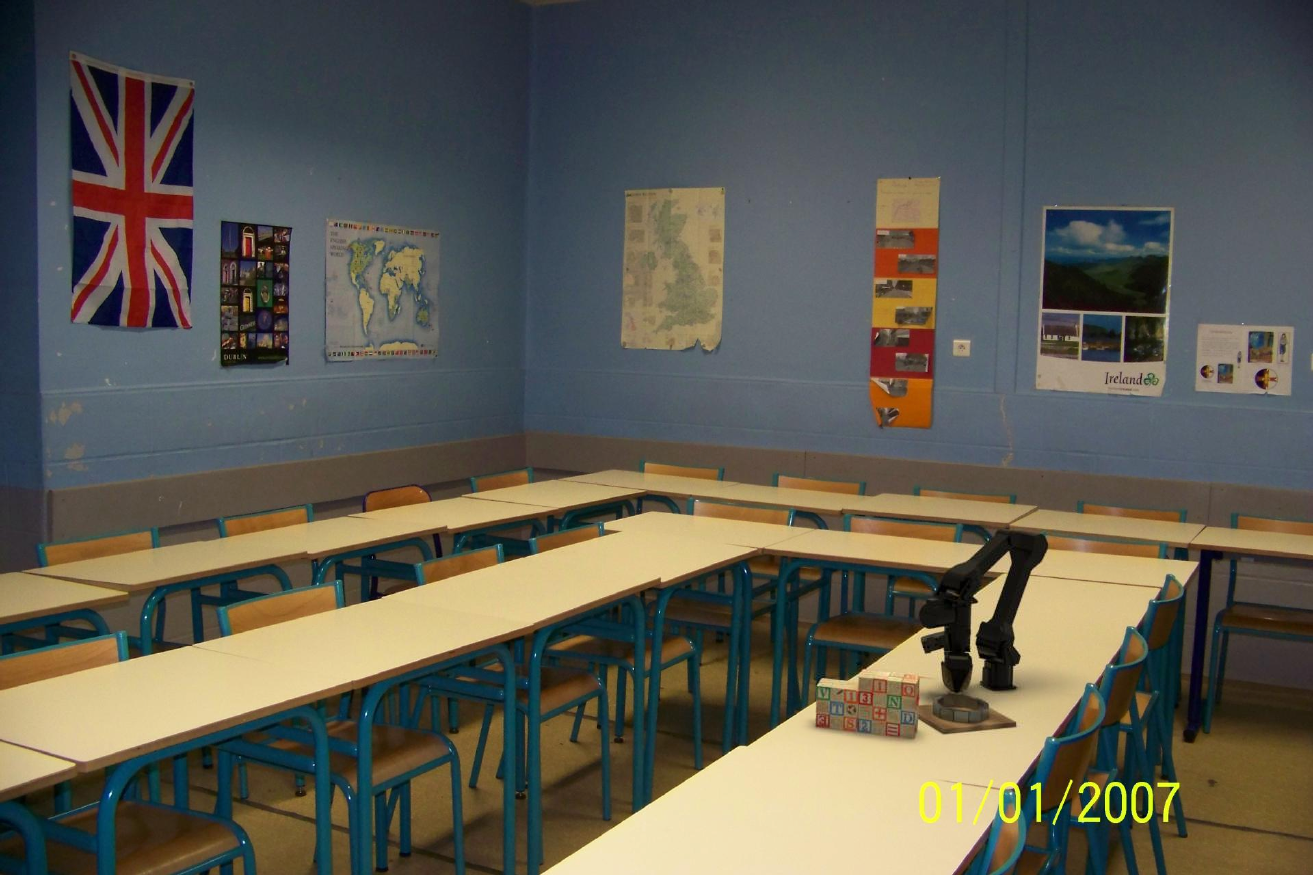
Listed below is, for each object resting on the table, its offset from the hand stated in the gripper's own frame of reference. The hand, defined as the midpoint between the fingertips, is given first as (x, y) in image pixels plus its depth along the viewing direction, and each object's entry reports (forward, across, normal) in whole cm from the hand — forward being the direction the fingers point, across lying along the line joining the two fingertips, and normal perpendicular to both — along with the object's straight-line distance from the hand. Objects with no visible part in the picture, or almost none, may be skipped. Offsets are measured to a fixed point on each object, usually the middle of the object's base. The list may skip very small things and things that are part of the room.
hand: (956, 688), depth 279 cm
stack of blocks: (+2, +29, -19) cm, 35 cm away
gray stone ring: (+2, +17, +1) cm, 17 cm away
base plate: (+2, +17, +1) cm, 17 cm away
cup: (+2, 0, 0) cm, 2 cm away
